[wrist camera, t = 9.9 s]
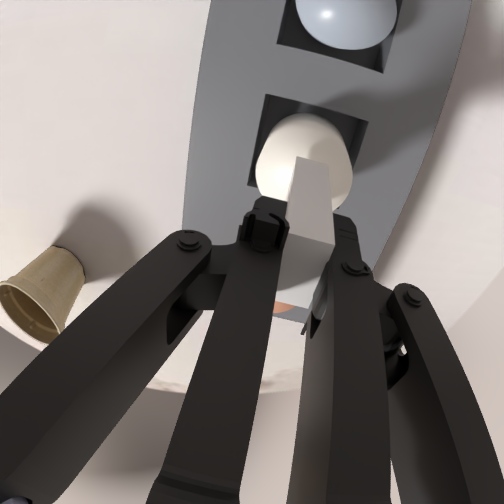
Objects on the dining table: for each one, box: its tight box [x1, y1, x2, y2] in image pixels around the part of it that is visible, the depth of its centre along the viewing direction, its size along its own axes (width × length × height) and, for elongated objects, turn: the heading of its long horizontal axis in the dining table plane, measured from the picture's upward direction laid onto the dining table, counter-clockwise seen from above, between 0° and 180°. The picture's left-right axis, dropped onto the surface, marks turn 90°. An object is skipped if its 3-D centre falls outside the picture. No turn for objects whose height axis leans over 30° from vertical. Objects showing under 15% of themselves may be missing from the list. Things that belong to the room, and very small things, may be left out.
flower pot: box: [0, 246, 85, 346], centre depth 31 cm, size 9×9×9 cm
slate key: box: [296, 0, 397, 50], centre depth 13 cm, size 5×5×4 cm
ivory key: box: [256, 113, 353, 211], centre depth 17 cm, size 5×5×4 cm
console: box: [182, 0, 472, 324], centre depth 20 cm, size 28×14×4 cm, turn 169°
